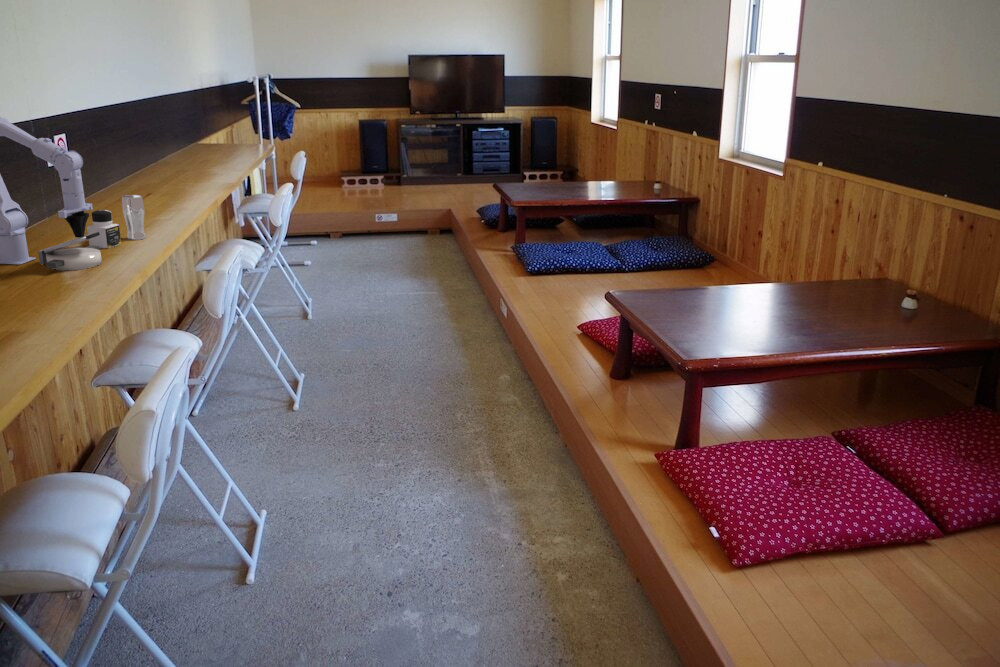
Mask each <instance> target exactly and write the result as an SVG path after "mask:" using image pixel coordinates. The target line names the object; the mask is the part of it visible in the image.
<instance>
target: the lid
mask: <svg viewBox="0 0 1000 667" xmlns="http://www.w3.org/2000/svg"><path fill="white" fill-rule="evenodd" d="M99 235H100V233H99V232H97V233H92V234H88V233H87V234H84V237H81V238H77V237H75V238H73V239H71V240H67V241H65V242H62V243H59V244H56V245H52V246H49V247H50V248H48V247H46V248H47V249H46V248H44V250H43V249H42V250H43V253H45V254H46V253H49V252H53V251H56V250H60V249H66V248H69V247H70V246H73V245H76V244H79V243H82V242H86V241H89V239H91V238H94V237H96V236H99Z"/></svg>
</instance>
